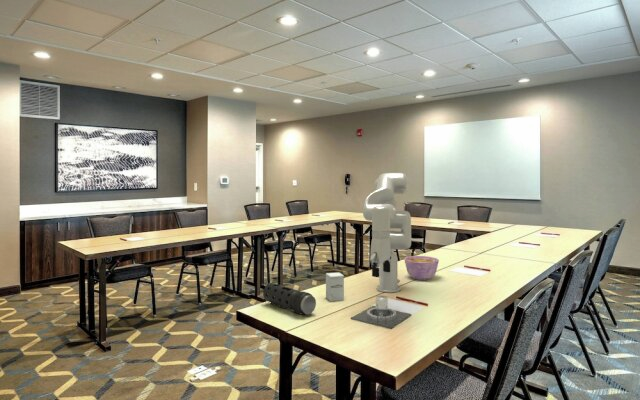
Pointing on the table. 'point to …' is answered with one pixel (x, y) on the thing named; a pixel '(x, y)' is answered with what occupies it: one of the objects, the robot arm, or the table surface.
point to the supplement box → (334, 286)
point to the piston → (381, 306)
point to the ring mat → (387, 322)
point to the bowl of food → (421, 266)
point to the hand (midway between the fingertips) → (381, 274)
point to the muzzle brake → (290, 298)
